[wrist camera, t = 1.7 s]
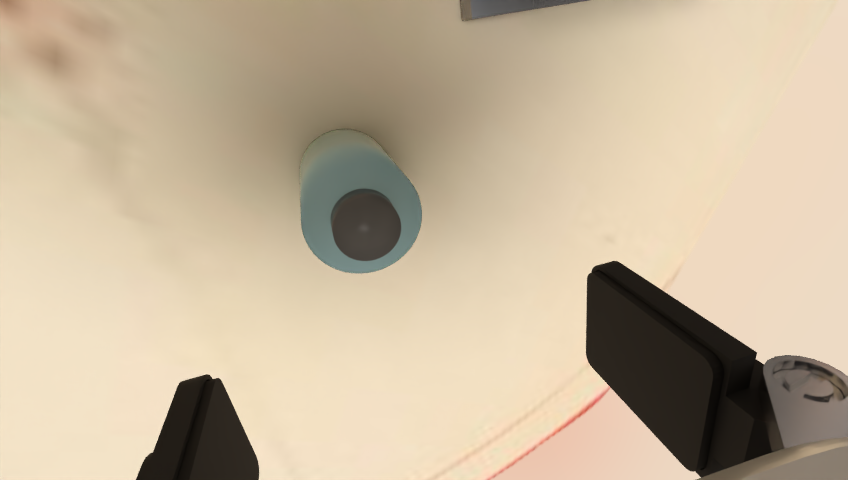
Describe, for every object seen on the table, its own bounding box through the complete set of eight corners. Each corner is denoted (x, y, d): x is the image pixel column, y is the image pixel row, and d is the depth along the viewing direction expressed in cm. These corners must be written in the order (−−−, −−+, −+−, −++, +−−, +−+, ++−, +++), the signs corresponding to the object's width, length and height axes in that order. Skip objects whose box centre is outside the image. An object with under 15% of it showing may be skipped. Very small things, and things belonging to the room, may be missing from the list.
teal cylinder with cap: (288, 139, 24) (285, 183, 16) (380, 121, 25) (419, 154, 17) (312, 225, 26) (319, 299, 18) (396, 205, 27) (436, 268, 19)
